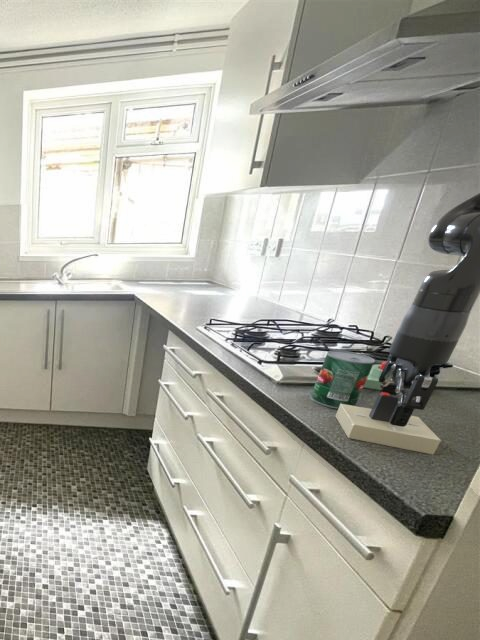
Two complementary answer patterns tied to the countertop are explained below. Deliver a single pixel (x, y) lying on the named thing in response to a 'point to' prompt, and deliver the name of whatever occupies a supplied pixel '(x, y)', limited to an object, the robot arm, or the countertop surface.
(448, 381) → the countertop surface
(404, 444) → the panel
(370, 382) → the button block
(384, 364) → the button
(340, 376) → the canned tomato
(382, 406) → the oven knob
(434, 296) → the robot arm
